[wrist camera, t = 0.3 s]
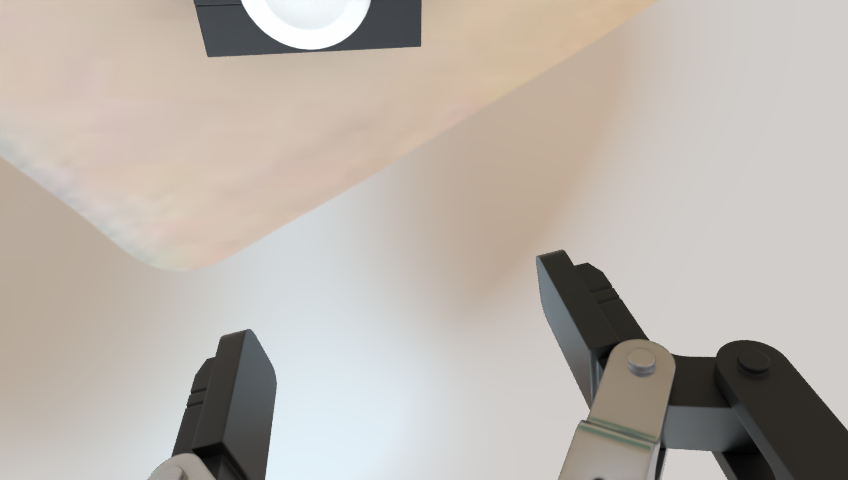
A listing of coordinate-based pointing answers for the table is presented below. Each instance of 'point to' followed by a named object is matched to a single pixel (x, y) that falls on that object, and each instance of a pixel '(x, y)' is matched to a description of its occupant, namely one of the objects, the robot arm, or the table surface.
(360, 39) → the holder
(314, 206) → the table surface
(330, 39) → the spice jar
